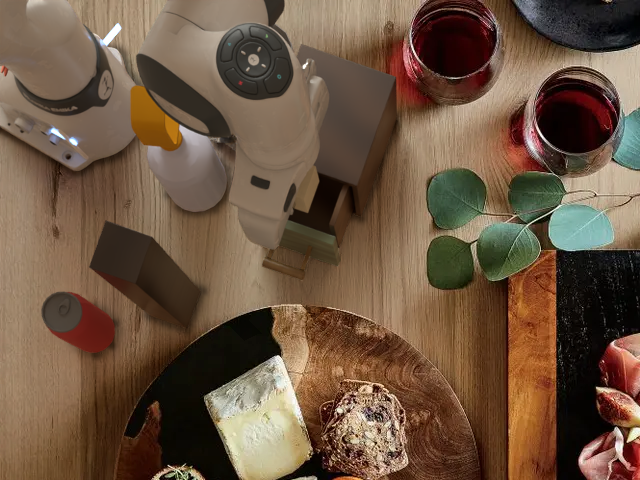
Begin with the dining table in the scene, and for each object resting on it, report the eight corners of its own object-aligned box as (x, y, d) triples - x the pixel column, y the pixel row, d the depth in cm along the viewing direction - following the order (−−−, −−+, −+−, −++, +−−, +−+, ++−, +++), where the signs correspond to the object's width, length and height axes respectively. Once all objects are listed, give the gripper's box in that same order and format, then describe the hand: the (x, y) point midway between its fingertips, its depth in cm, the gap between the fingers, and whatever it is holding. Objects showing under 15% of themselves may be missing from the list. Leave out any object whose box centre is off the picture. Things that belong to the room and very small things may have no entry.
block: (275, 201, 108) (270, 188, 103) (287, 169, 108) (282, 154, 103) (307, 213, 108) (303, 199, 103) (319, 180, 108) (315, 166, 103)
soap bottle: (230, 155, 122) (187, 64, 98) (224, 215, 122) (179, 141, 98) (170, 149, 122) (112, 58, 98) (164, 210, 122) (104, 134, 98)
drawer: (327, 298, 121) (320, 279, 111) (248, 270, 121) (234, 248, 111) (371, 174, 121) (368, 144, 111) (292, 146, 121) (282, 113, 111)
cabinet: (361, 217, 122) (357, 186, 110) (275, 187, 122) (262, 152, 110) (396, 118, 122) (396, 76, 110) (310, 88, 122) (301, 43, 110)
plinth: (149, 315, 122) (88, 267, 98) (163, 277, 122) (105, 220, 98) (187, 329, 122) (135, 283, 98) (201, 291, 122) (152, 236, 98)
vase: (220, 106, 122) (211, 85, 116) (254, 120, 122) (246, 100, 116) (206, 139, 122) (196, 120, 116) (239, 153, 122) (231, 135, 116)
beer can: (123, 320, 122) (93, 299, 110) (105, 361, 122) (73, 344, 110) (84, 302, 122) (49, 279, 110) (65, 342, 123) (29, 323, 111)
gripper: (284, 41, 92) (299, 103, 106) (223, 213, 92) (246, 252, 106) (336, 59, 92) (345, 119, 106) (275, 231, 92) (292, 268, 106)
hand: (295, 187), depth 106 cm, fingers closed on block, 4 cm apart
